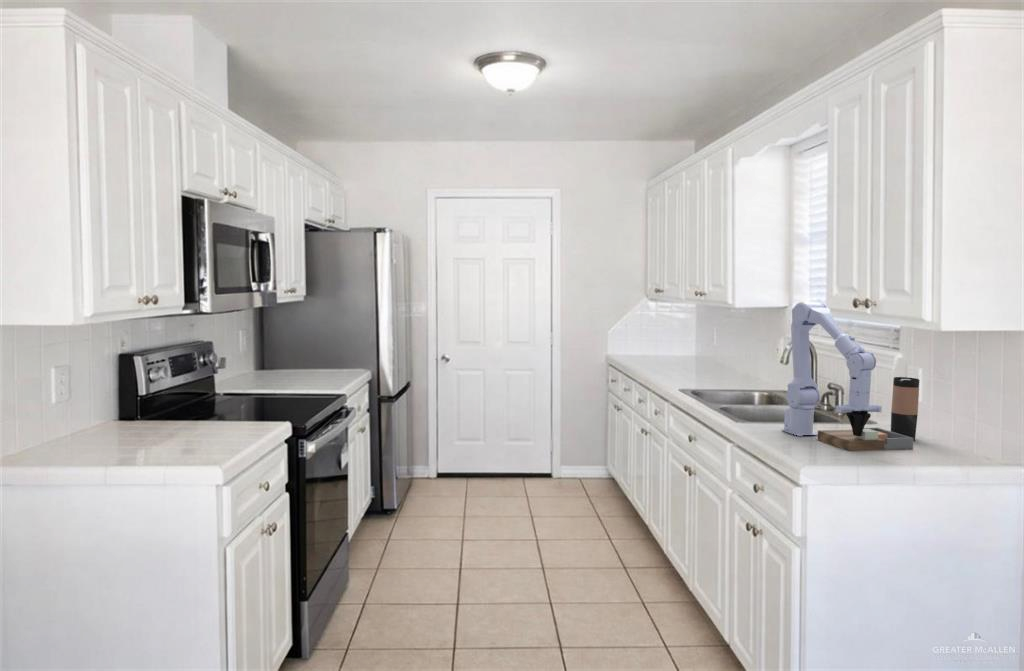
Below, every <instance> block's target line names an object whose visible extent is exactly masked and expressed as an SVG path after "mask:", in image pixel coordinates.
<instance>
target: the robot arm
mask: <svg viewBox="0 0 1024 671" xmlns="http://www.w3.org/2000/svg"><path fill="white" fill-rule="evenodd" d="M791 317H792V318H791V324H790V334H791V352H792V370H793V372H792V374H793V379H792V380H791V381H790V382H789V383H788V384H787V391H786V395H785V399H786V402H787V403H788V405H789V406H787V407H786V408H785V412H784V425H783V428H781V431H783V432H785V433H789V434H790V435H793V434H794V436H796V435H797V437H804V436H803V435H817V436H818V432H817V433H816V432H814V415H815V413H814V412H815V408H816V407H817V405H818V404H819V403H820V400H821V394H820V391H819V389H818V383H817V382H816V381H815V380H814V379H813V378H812V366H811V349H810V333H809V332H810V331H811V329H812V328H813V327H815V326H816V325H817V326H818V325H820V326H821V327H822V328H823V329H824V330H825V331H826V332H827V334H829V336H830V337H831V338H832V339H833V340H834V341H835V342H834V346H835V348H836V349H837V350H838V351H839V353H840V354H841V355H842V356H843V358H845V360H846V361H845V363H846V367H847V370H848V375H849V393H848V404H842V405H841V404H840V405H835V411H834V412H835V413H839V414H843V413H845V414H846V416H847V419H848V421H849V423H850V426H851V430H852V431H853V435H855V436H861V434H862V431H863V429H864V428H865V426H866V424H867V423H868V421H869V419H871V417H872V416H871V413H882V405H878V404H870V399H871V398H870V397H871V396H870V395H871V384H872V383H871V382H872V381H871V380H872V371H873V370H874V369H875V368H876V365H877V359H876V357H875V355H874V354H873V353H872V352H870V351H866V350H865V348H864V347H863V346H861V344H860V343H858V341H857V340H856V337H855V336H854V335H852V334H849V333H848V334H847V333H846V334H845V332H844V331H843V329H842V328H841V326H840V325H839V324H838V323H837V321H836V320H835V318H834V317H833V315H832V314H831V309H830V308H829V307H828V305H826V304H825V303H824V302H805V301H804V302H802V301H801V302H798V303H796V304H795V306H794V307H793V308H792V309H791Z"/></svg>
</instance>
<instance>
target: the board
mask: <svg viewBox="0 0 1024 671" xmlns="http://www.w3.org/2000/svg"><path fill="white" fill-rule="evenodd" d="M817 434H818V435H817V439H819V440H818V441H820V440H821V441H820V442H823V441H824V442H823V443H825V442H826V443H825V444H828V443H829V444H828V445H831V446H834V447H837V448H839V447H840V448H839V449H842V448H843V450H845V451H849V452H861V451H862V452H867V451H885V450H884V449H885V440H882V439H879V438H878V440H863V439H860V438H857V437H855V435H853V431H852V429H828V430H827V429H825V430H824V429H823V430H817Z"/></svg>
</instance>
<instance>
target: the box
mask: <svg viewBox="0 0 1024 671" xmlns="http://www.w3.org/2000/svg"><path fill="white" fill-rule="evenodd" d="M864 429H871V430H874V431H879V432H882V433H885V434H888V438H886V440H885V449H884V450H883V451H897V450H900V451H901V450H914V441H913V440H914V438H912V437H908V436H905V435H901V434H898V433H894V432H891V430H887V429H884V428H881V427H864Z"/></svg>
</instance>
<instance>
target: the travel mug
mask: <svg viewBox="0 0 1024 671" xmlns="http://www.w3.org/2000/svg"><path fill="white" fill-rule="evenodd" d="M892 383H893V384H892V397H891V398H892V399H891V412H890V413H891V414H890V431H891V432H894V433H898V434H901V435H905V436H908V437H912V438H914V440H913V442H914V441H916V435H917V433H916V432H917V425H918V424H917V423H918V416H919V415H918V412H919V399H920V398H919V396H920V395H919V393H920V379H919V378H916V377H914V378H913V377H907V376H895V377H893V382H892Z"/></svg>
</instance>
